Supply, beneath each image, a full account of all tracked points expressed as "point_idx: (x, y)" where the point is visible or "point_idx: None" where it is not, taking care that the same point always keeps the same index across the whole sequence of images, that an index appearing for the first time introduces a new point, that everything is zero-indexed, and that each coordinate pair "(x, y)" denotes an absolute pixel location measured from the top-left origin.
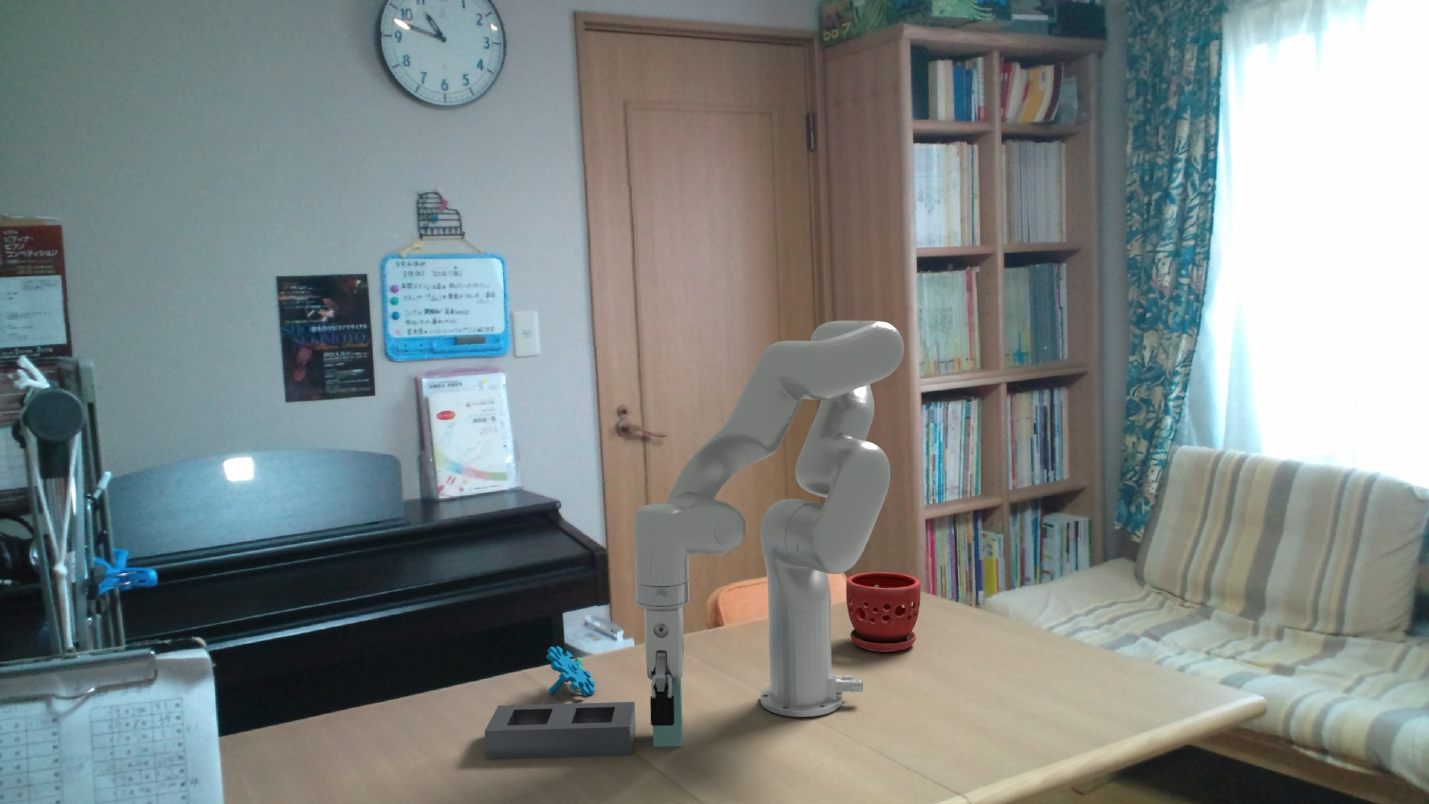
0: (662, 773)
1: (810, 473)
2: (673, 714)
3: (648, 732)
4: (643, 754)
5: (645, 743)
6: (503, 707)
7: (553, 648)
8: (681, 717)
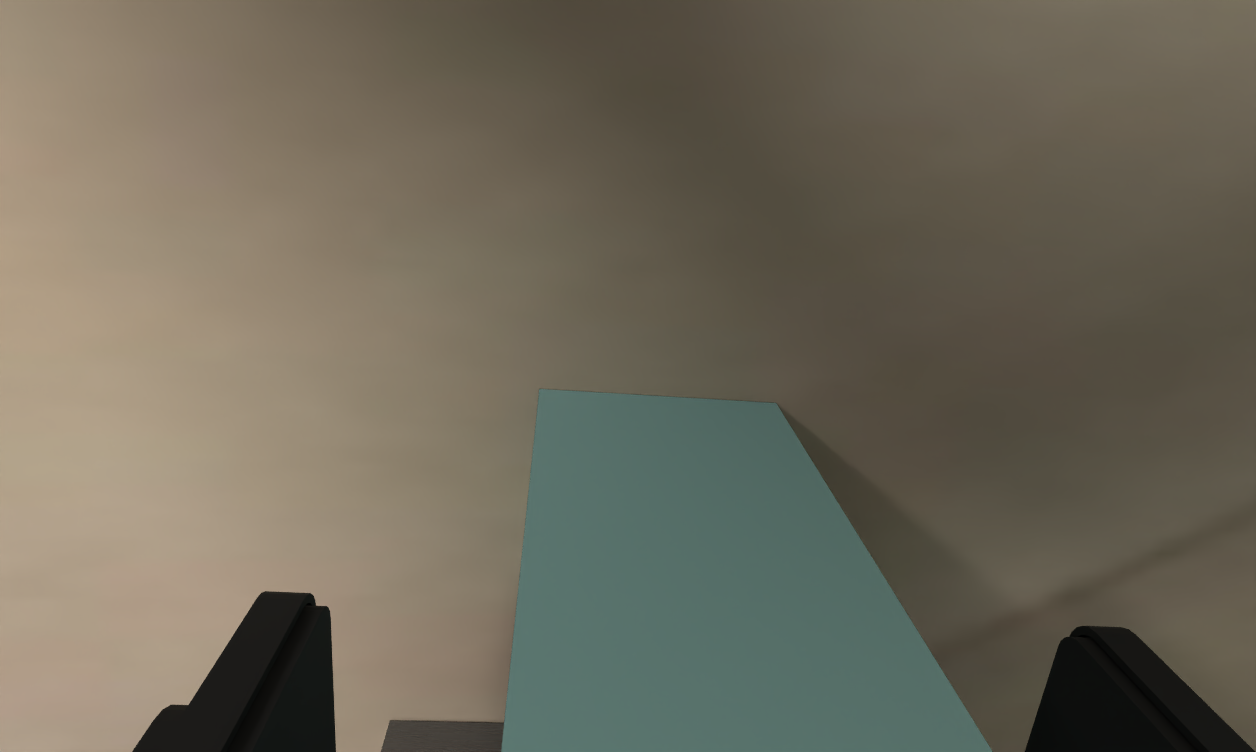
0: (1186, 541)
1: None
2: (1200, 707)
3: (474, 636)
4: None
5: None
6: None
7: None
8: (748, 506)
